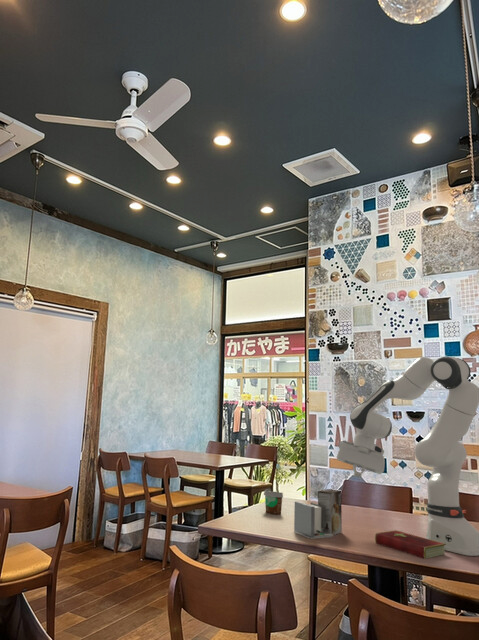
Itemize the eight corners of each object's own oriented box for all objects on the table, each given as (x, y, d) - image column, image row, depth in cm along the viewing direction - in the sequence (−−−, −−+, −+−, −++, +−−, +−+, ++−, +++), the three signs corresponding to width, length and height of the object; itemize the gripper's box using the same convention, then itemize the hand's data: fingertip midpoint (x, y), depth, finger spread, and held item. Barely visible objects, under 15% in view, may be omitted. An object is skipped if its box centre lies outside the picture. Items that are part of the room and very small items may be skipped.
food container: (258, 510, 219) (259, 488, 221) (269, 510, 222) (270, 488, 224) (271, 516, 208) (271, 493, 210) (282, 515, 211) (283, 492, 213)
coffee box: (327, 529, 187) (327, 488, 191) (342, 532, 183) (342, 490, 187) (317, 533, 180) (317, 490, 184) (331, 536, 176) (332, 492, 180)
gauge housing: (333, 536, 175) (333, 505, 178) (311, 539, 171) (311, 506, 173) (315, 530, 185) (315, 500, 187) (294, 532, 180) (294, 501, 183)
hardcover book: (425, 560, 152) (424, 546, 153) (375, 544, 169) (375, 532, 170) (446, 555, 158) (445, 542, 159) (396, 541, 176) (395, 529, 176)
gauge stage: (326, 532, 175) (326, 506, 177) (315, 533, 173) (316, 507, 175) (312, 527, 183) (312, 502, 185) (302, 528, 181) (302, 503, 183)
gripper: (341, 436, 200) (334, 466, 193) (387, 451, 196) (382, 482, 189) (338, 441, 205) (332, 470, 198) (384, 456, 202) (379, 486, 194)
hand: (357, 476), depth 193 cm, fingers closed
